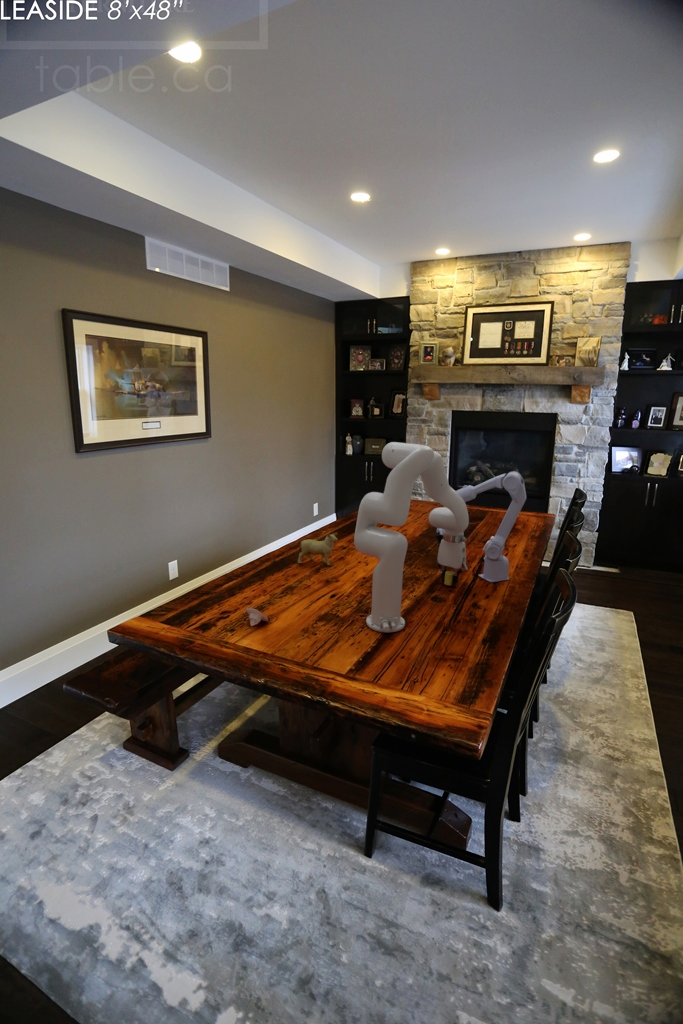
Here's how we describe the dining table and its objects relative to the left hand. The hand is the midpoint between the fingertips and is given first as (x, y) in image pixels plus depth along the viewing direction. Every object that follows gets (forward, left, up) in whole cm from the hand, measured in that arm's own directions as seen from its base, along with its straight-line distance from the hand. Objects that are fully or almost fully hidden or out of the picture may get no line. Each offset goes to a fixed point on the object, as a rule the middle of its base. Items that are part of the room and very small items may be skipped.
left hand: (449, 582), depth 195 cm
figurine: (+28, -27, -1) cm, 39 cm away
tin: (0, 0, 0) cm, 0 cm away
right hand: (+17, -3, +6) cm, 18 cm away
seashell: (-29, +72, -1) cm, 78 cm away
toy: (+26, +50, -1) cm, 56 cm away
